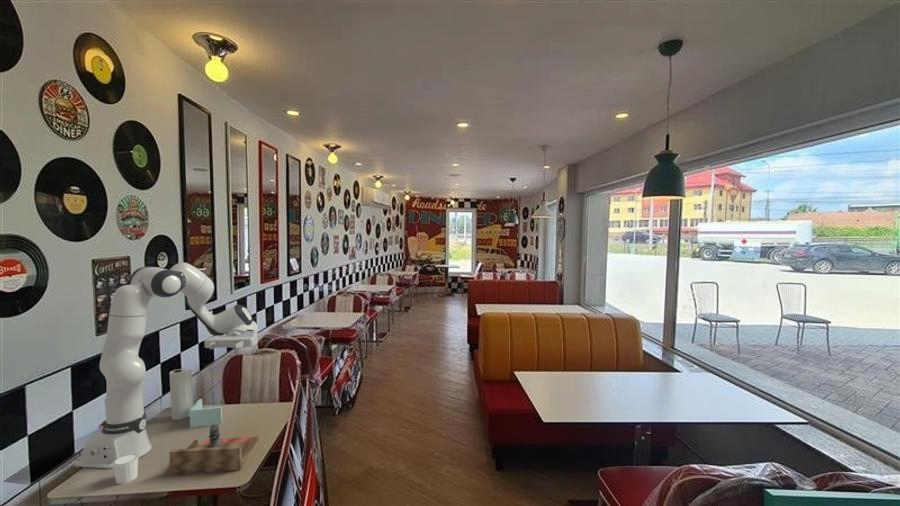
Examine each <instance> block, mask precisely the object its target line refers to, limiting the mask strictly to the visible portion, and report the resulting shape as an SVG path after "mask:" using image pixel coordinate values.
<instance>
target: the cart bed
mask: <svg viewBox="0 0 900 506" xmlns="http://www.w3.org/2000/svg"><path fill="white" fill-rule="evenodd" d="M219 440H220V441H222V442H224V445H223V447H212V448H206V446H207V445H208V444H210V438H209V439H204V441H203V442H202V443H201V444H199V441H198V439H194V440H193V441H192V442H191V443H190V444H189V445H188V446H187V447H186V448H182V449H180V448H178V449H171V450H170V451H169V468H170V475H182V474H184V475H185V474H197V473H198V474H199V473H213V472H214V473H215V472H217V473H218V472H231V471H233V472H234V471H241V470H242V469H243V467H244V466H245V464H246V462H247V461H248V460H249V459H250V457H251V456H252V454H253V452H254V451H255V450H256V449H257V447H258V440H259V436H245V437H243V436H242V437H231V438H229V437H228V438H225V437H224V438H219Z"/></svg>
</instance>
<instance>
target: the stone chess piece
mask: <svg viewBox="0 0 900 506" xmlns="http://www.w3.org/2000/svg"><path fill="white" fill-rule="evenodd" d="M219 430H220V429H219V426H218V425H215V424H213V425H212V426H209V435H208V438H209V439H210V444H208V445H207V446H206V448H212V447H223V445H224V442H222V441H220V440H219V439H220V436H221V433H220V432H219Z"/></svg>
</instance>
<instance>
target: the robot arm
mask: <svg viewBox="0 0 900 506" xmlns="http://www.w3.org/2000/svg"><path fill="white" fill-rule="evenodd" d="M214 292H215V283H214V281H213V280H212V279H211V278H210V277H209V276H207V274H205V273H204V272H203V271H202V270H200V269H198V268H197V267H195V266H194V265H192V264H190V263H188V262H178V263H176V264H174V265H173V266H171V267H170V269H167V268H163V267H157V266H156V267H155V266H142V267H139V268H137V269H136V270H134V271H133V272H132V273H131V274H130V276H129V279H128V280H127V281H126V284H124V285H122V286H120V287H118V288H117V289H116V290H115V292H114V295H113V297H112V300H111V304H110V308H109V313H108V322H107V329H106V336H105V337H106V338H105V340H104V344H103V347H102V351H101V352H102V353H101V356H100V360H99V370H100V372H101V373H102V375H103V376H104V379H105V381H106V389H105V390H106V392H105V393H106V394H105V399H104V406H105V408H104V409H105V420H104V421H102V423H100V424H99V425H98V429H101V431H99V432H98V433H97V434H96V435H95V436H93V437H92V438H91V439H90V440H88V441H87V442H86V443H85V444H84V446H83V450H82V454H81V455H80V456H79V457H77V459H76V460H75V461H74V466H73V467H79V468H81V467H82V468H97V469H113V464H112V463H113V461H114V460H116V459H117V458H119V457H121V456H124V455H128V454H137V455H138V459H139V458H141V457H144V456H145V455H146V454H147V453H149V452H150V451H151V449H152V447H153V445H152V444H151V442H150V439H149V437H148V433H147V415H146V414H147V413H146V411H145V408H144V407H145V406H144V388H145V387H144V386H145V376H146V371H147V370H146V369H147V368H146V365H145V362H144V360H143V359H142V358H141V357H139V352H140V347H141V344H142V341H143V338H144V337H145V334H146V325H147V317H148V305H149V303H150V302H151V299H152V298H153V297H158V298H170V297H171V298H172V297H173V296H176V295H177V294H178V293H182V294H183V295H185V297H186V299H185V303H186V306H187V307H188V309H189V310H190V312H192V314H193V315H194V316H195V317H196V318H197V319H198V320H199V321H200V322H201V324H203V326H204V328H206V330H207V332H208V333H209V334H210V335H211V336H210V337H208V338H206V339H204V348H205V349H209V350H214V349H218V348H220V349H221V348H233V349H239V348H246V347H247V348H248V347H249V348H252V347H254V346H256V345H257V344H258V331H259V325H258V324H257V323H256V321H254V320H253V317H252V314H251V312H250V310H249V309H248V308H247V307H246V306H243V305H241V304H235V305H232V306H231V307H229V308H227V309H226V310H223V311H221V312H219V313H216V314H213V313H211V312H210V311H209V310H208V309H207V307H206V306H205V304H206V303H207V302H208V301H209V300H210V299H211V298H212V296H213V294H214Z"/></svg>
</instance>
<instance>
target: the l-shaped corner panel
mask: <svg viewBox="0 0 900 506" xmlns="http://www.w3.org/2000/svg"><path fill="white" fill-rule="evenodd" d="M222 409H223V408H222V406H216V407H215V406H214V407H205V408H204V407H203V399H202V398H199V399H198V400H197V401H196V402H195V404H193V407H192V408H191V410H190V411H189V414H190V416H189V427H190V429H192V428H191V427H195V428H199V427H198V426H203V427H209V426H208V425H212V426H213V424H215V425H216V424H221V425H222V424H223V423H222V413H223V410H222Z"/></svg>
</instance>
